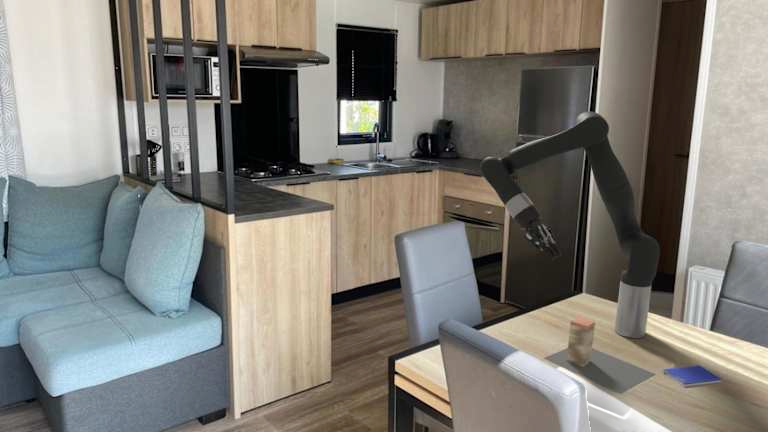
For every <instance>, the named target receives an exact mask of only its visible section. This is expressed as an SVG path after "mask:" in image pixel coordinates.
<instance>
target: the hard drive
mask: <svg viewBox="0 0 768 432" xmlns="http://www.w3.org/2000/svg"><path fill="white" fill-rule="evenodd" d="M662 371H663V375H666V376H667V377H669V379H672V380H673V381H674V382H675V383H678V385H680V386H681V387H691V386H700V385H707V384H714V383H715V384H716V383H722V380H723V379H722V378H721V377H719V376H718V375H716V374H715V373H713V372H711V371H710V370H708V369H706V368H705V367H703V366H701V365H699V364H698V365H693V366H692V365H691V366H684V367H683V366H682V367H681V366H680V367H672V368H662Z"/></svg>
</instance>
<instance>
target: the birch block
mask: <svg viewBox="0 0 768 432" xmlns="http://www.w3.org/2000/svg"><path fill="white" fill-rule="evenodd" d="M595 326H596V321H595V320H591V319H588V318H584V317H581V316H577V317H575V318H574V319H572V320H571V321H570V325H569V335H568V343H567V345H568V346H567V348H568V353H567V361H568V362H571V363H574V364H577V365H580V366H582V367H584V366H585V365H586V364H588V363H589V362H590V361H591V354H592V348H593V343H594V336H595Z"/></svg>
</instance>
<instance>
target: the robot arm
mask: <svg viewBox="0 0 768 432" xmlns="http://www.w3.org/2000/svg"><path fill="white" fill-rule="evenodd" d="M609 132H610V125H609V123H608V121H607V119H605V117H603V116H602V115H601V114H599V113H597V112H595V111H584V112H581V113H580V114H579V115H578V116H577V117H576V119H575V122H574V124H573V126H571V127H570V128H568V129H566V130H564V131H561V132H559V133H557V134H554V135H550V136H547V137H543V138H539V139H535V140H532V141H529V142H527V143H524V144H523V145H519V146H517V147H515V148H513V149H511V150H509V152H508V154H507V155H504V156H502V157H500V158H498V157H495V156H488V157H485V158H484V159H483V160H482V161H481V164H480V169H479V170H480V173H481V175H482V177H483V178H484V179H485V180H486V181H487V183H488V184H489V185H490V186H491V187H492V189H493V190H494V191H495V193H496V194H497V196H498V197H499V199H500V200H501V202H502V203H503V205H504V206H505V207H506V210H507V211H508V213H509V214H510V217H512V219H513V220H514V222H515V223H516V224H517V227H518V228H519V229H520V230H522V231H524V230H525V232H526V234H525V235H524V239H525V240H526V241H528V243H530V244H531V245H532V246H533V247H534V248H535V249H537V250H540V251H543V253H544V254H545V255H546V256H547V258H548V259H549V260H550V261H553V260H554V259H557V258H559V257H561V256H562V252H561V251H560V249H559V248H558V247H557V245H556V242H558V238H557V237H556V235H555V232H554V230H553V228H552V226H551V225H549V224H548V226H545V223H543V222H542V221H541V219H542V214H541V213H540V211H539V209H538V208H537V207H536V205H535V204H534V203H533V201H532V200H531V199H530V197H528V196H527V194H526V193H525V192H524V191H523V189H522V188H521V187H520V185H519V184H518V182H516V181H515V179H513V177H512V175H514V174H516V173H517V172H520V171H521V170H525V169H527V168H529V167H532V166H534V165H537V164H539V163H541V162H545V161H546V160H549V159H552V158H554V157H557V156H558V155H562V154H565V153H569V152H570V151H571V152H572V151H574V150H579V149H582V148H583V151H585V153H586V156H587V158H588V161H589V164H590V167H591V168H590V169H591V173H592V175H593V178H594V181H595V184H596V187H597V190H598V192H599V195H600V197H601V199H602V202H603V204H604V206H605V209H606V211H607V213H608V215H609V218H610V219H611V222H612V225H613V227H614V230H615V233H616V237H617V241H618V245H619V249H620V251H621V252H622V254H623V255H624V256H625V258H627V259H628V264H627V266H628V267H627V269H626V270H623V271H622V272H621V274H620V279H619V280H620V281H619V282H620V283H619V289H618V291H619V292H618V299H617V306H616V315H615V323H614V332H615V333H616V334H617V335H620V336H623V337H626V338H630V339H642V338H644V337H645V336H646V331H647V326H648V325H647V324H648V317H649V316H648V315H649V309H650V308H649V307H650V299H651V293H652V284H653V280H654V279H655V277H656V275H657V270H658V265H659V260H660V253H661V251H660V244H659V242H658V241H657V240H656V239H655V238H653V237H651V236H650V235H647V234H645V232H644V231H643V229H642V228H641V226H640V224H639V221H638V219H637V217H636V214H635V194H634V190H633V187H632V184H631V183H630V179H629V177H628V175H627V173H626V171H625V169H624V167H623V165H622V164H621V163H620V161H619V159H618V158H617V156H616V154H615V152H614V151H613V148H612V146H611V144H610V143H611V142H610V140H609V136H608V135H609Z"/></svg>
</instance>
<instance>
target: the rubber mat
mask: <svg viewBox="0 0 768 432" xmlns="http://www.w3.org/2000/svg"><path fill="white" fill-rule="evenodd" d="M567 353H568V347H567V348H565V349H562V350H559V351H557V352H555V353H552V354H550V355H548V356H546V357H543V359H544V360H546V361H548V362H551V363H552V364H555V365H558V366H559V367H562V369H563V368H564V369H565V370H568V371H571V372H572V373H574V374H577V375H579V376H581V377H584V378H586V379H588V380H590V381H592V382H594V383H596V384H598V385H601V386H603V387H605V388H608V389H610V390H612V391H614V392H616V393H618V394H622V393H624V392H627V391H628V390H630V389H632V388H633V387H635V386H637V385H639V384H641V383H642V382H645V381H646V380H648V379H650V378H652V377H653V376H655V375H656V373H655V372H651V371H649V370H648V369H644V368H642V367H639V366H637V365H634V364H632V363H629V362H627V361H625V360H622V359H620V358H617V357H614V356H613V355H609V354H608V353H605V352H603V351H600V350H598V349H595V348H593V347H592V354H591V361H590V362H589V363H588V364H586V365H585V366H584V367H582V366H580V365H577V364H574V363H571V362H568V361H567Z"/></svg>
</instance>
